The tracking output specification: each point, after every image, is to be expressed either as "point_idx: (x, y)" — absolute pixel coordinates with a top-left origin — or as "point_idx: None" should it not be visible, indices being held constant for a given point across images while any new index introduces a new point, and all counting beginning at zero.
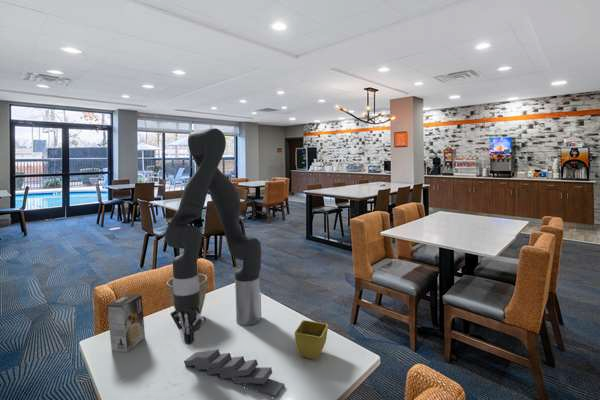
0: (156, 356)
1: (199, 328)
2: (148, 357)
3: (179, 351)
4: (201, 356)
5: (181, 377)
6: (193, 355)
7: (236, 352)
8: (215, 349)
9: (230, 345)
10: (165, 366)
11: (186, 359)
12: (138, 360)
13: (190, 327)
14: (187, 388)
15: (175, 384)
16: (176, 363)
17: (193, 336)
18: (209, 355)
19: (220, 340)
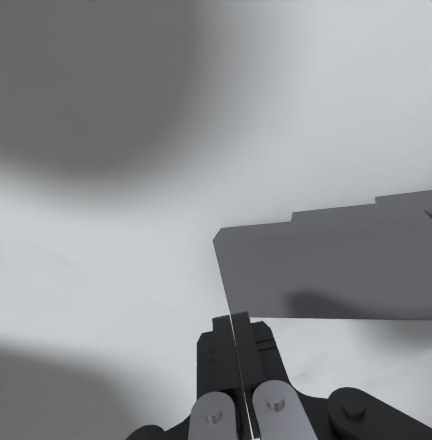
0: (49, 340)
1: (394, 414)
2: (30, 364)
3: (91, 253)
4: (341, 294)
5: (289, 345)
6: (239, 271)
7: (379, 46)
8: (402, 226)
9: (288, 7)
10: (163, 350)
11: (231, 303)
12: (23, 397)
13: (237, 421)
14: (363, 361)
15: (305, 375)
16: (181, 312)
17: (280, 360)
18: (422, 294)
19: (177, 5)
